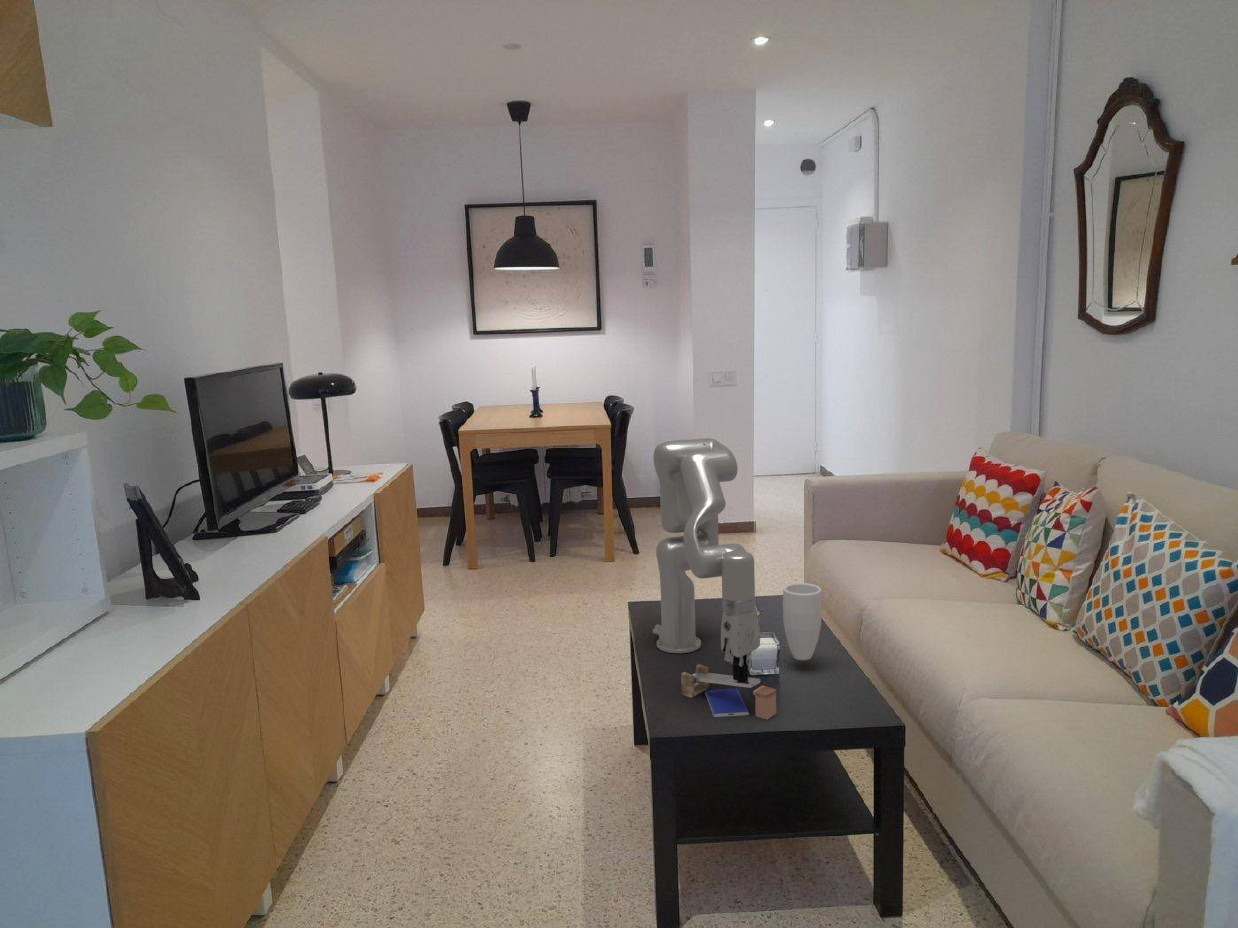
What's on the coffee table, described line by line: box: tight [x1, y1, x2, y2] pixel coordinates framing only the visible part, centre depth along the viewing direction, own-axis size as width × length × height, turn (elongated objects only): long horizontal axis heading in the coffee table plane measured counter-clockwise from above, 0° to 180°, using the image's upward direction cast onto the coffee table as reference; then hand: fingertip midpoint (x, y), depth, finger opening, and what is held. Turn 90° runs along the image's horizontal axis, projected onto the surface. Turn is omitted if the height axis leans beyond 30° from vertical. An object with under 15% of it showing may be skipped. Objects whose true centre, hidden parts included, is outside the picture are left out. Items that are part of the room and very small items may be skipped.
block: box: [752, 685, 777, 721], centre depth 193 cm, size 4×4×6 cm
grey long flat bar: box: [692, 671, 761, 689], centre depth 200 cm, size 19×4×1 cm, turn 47°
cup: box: [782, 582, 823, 661], centre depth 217 cm, size 10×10×22 cm
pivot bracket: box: [680, 663, 710, 699], centre depth 206 cm, size 3×7×6 cm, turn 137°
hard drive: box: [704, 688, 750, 718], centre depth 199 cm, size 2×8×12 cm
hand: (740, 679), depth 196 cm, fingers closed
